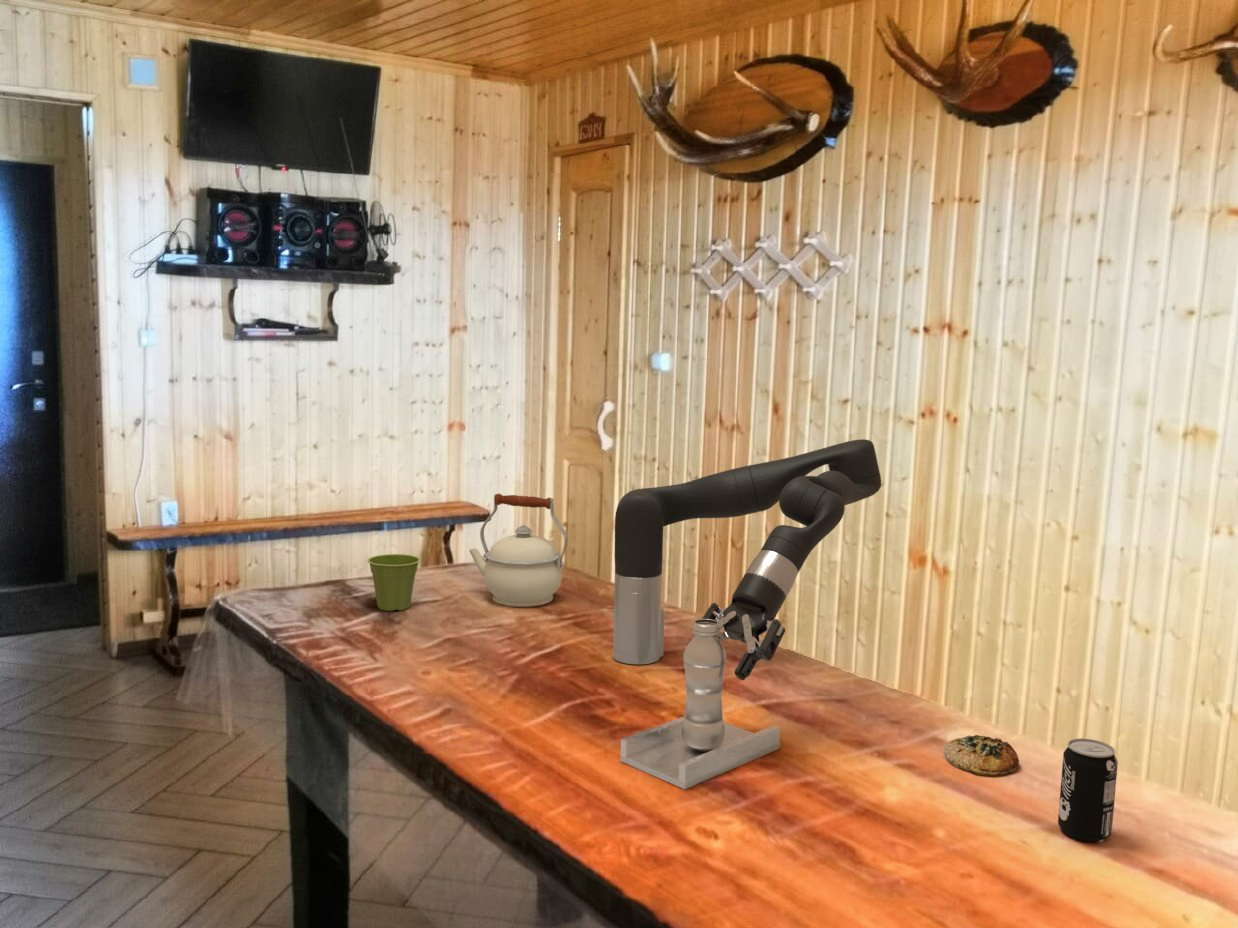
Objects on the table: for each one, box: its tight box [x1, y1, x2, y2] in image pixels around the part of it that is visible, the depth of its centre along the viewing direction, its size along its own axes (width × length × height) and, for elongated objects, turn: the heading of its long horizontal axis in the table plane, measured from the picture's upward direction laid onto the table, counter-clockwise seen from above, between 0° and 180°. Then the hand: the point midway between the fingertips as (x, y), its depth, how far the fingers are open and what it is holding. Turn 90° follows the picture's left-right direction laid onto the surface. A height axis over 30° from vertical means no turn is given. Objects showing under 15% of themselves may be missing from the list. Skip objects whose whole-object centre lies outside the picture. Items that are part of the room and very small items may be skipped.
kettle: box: [468, 493, 569, 608], centre depth 253 cm, size 25×18×25 cm
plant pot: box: [366, 553, 422, 612], centre depth 244 cm, size 12×12×11 cm
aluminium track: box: [619, 715, 781, 790], centre depth 166 cm, size 22×13×4 cm, turn 134°
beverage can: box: [1057, 738, 1119, 843], centre depth 142 cm, size 7×7×12 cm
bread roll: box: [943, 734, 1020, 777], centre depth 165 cm, size 11×11×5 cm
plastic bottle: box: [682, 618, 727, 751], centre depth 165 cm, size 6×7×20 cm
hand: (717, 670), depth 166 cm, fingers open, 8 cm apart
